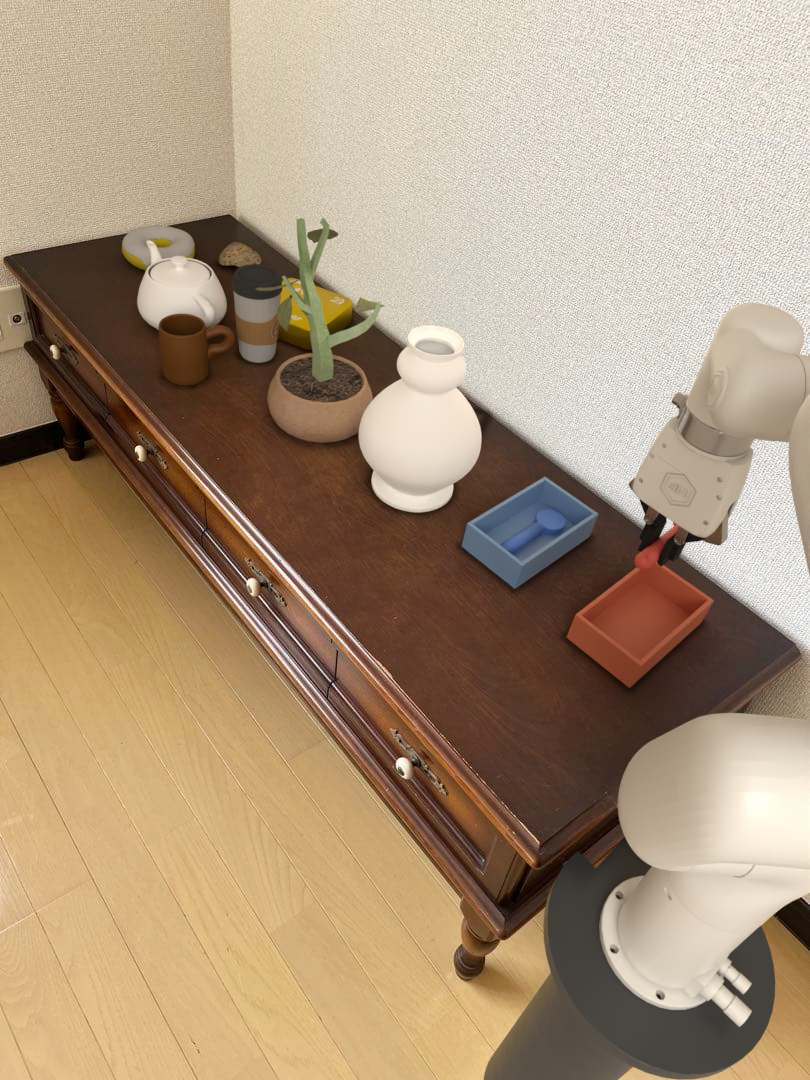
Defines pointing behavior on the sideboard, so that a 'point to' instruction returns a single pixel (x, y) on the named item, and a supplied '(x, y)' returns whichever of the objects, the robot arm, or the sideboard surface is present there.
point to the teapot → (180, 290)
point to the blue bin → (517, 516)
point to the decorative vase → (422, 425)
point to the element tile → (333, 310)
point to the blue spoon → (537, 529)
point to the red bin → (638, 621)
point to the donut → (165, 240)
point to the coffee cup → (256, 311)
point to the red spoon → (654, 550)
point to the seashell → (239, 255)
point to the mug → (189, 347)
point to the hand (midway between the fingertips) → (656, 552)
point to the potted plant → (318, 361)
